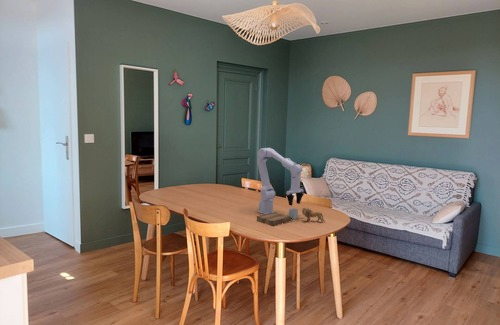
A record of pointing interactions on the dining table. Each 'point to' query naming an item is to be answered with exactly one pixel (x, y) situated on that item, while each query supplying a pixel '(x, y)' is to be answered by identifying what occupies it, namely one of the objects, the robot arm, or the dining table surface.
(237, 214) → the dining table surface
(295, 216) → the grey block
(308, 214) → the lion figurine
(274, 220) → the walnut plinth
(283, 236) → the dining table surface
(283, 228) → the dining table surface
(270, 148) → the robot arm
